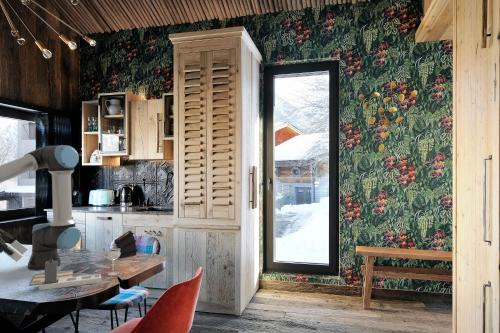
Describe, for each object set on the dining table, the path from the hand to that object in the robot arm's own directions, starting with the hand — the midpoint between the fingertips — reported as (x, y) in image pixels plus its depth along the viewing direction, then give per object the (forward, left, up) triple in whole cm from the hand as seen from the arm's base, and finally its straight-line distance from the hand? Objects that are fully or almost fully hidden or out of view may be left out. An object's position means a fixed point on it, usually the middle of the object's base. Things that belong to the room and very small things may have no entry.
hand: (22, 255), depth 140 cm
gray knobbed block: (0, +11, -14) cm, 18 cm away
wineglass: (-10, +37, -15) cm, 41 cm away
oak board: (-13, +11, -15) cm, 23 cm away
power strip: (0, +19, -15) cm, 24 cm away
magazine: (-44, +46, -15) cm, 66 cm away
